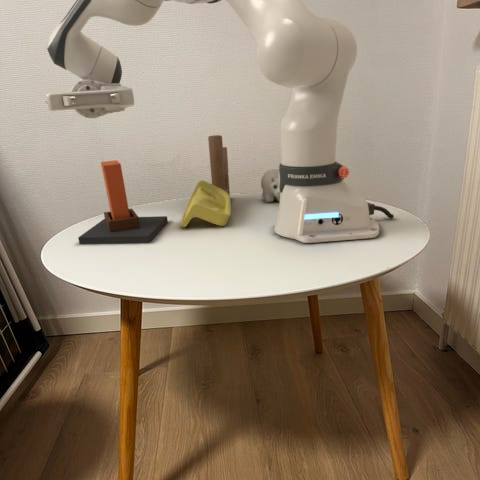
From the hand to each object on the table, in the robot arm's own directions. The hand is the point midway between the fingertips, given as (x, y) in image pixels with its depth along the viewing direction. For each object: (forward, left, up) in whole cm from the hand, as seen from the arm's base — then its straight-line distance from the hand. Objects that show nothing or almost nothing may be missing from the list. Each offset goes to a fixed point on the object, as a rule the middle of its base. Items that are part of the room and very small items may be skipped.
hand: (93, 99), depth 99 cm
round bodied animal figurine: (-41, -13, -28) cm, 51 cm away
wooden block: (-26, -14, -28) cm, 41 cm away
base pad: (-7, +12, -28) cm, 31 cm away
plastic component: (-25, +1, -28) cm, 37 cm away
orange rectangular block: (-6, +11, -26) cm, 29 cm away
